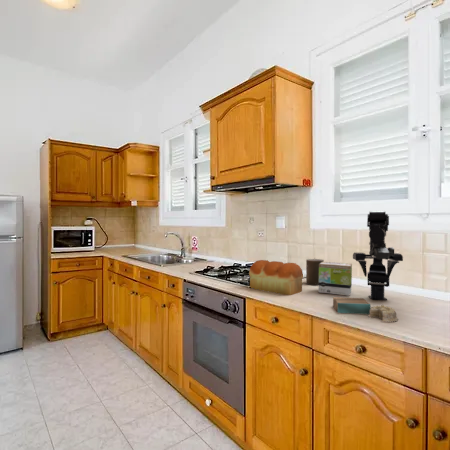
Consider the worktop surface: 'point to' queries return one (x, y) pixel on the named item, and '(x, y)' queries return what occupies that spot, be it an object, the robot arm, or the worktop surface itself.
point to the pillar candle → (312, 271)
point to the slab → (351, 305)
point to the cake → (383, 313)
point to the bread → (276, 277)
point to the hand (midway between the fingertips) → (377, 276)
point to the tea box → (335, 278)
